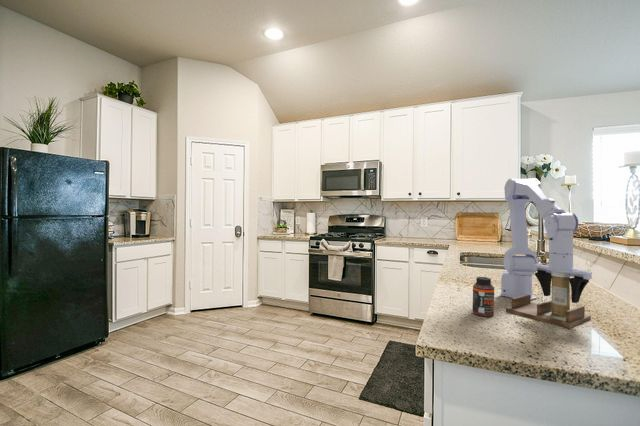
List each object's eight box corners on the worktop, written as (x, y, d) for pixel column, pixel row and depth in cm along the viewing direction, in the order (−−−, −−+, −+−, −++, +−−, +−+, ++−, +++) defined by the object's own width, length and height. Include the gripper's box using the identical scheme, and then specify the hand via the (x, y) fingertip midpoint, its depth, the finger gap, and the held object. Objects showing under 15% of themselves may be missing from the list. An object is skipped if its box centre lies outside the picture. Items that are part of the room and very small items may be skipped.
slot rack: (505, 311, 99) (505, 298, 99) (528, 304, 106) (528, 292, 106) (569, 328, 85) (569, 313, 85) (590, 319, 92) (590, 305, 92)
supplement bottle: (486, 318, 92) (486, 280, 92) (468, 312, 98) (468, 277, 98) (498, 315, 95) (498, 278, 95) (480, 310, 100) (480, 275, 100)
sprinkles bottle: (573, 315, 92) (573, 270, 92) (565, 317, 90) (565, 271, 90) (556, 311, 96) (556, 267, 96) (547, 313, 94) (547, 268, 94)
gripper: (598, 255, 87) (597, 303, 87) (543, 249, 101) (543, 291, 101) (583, 257, 84) (583, 306, 85) (529, 251, 98) (529, 293, 98)
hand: (560, 298), depth 92 cm, fingers open, 7 cm apart
